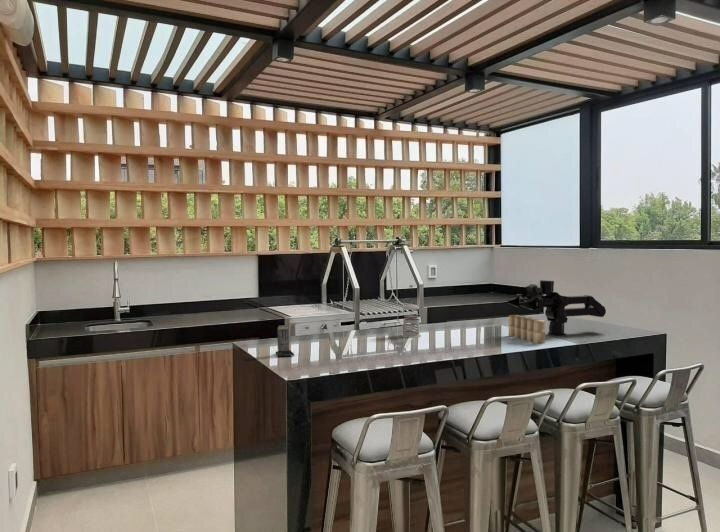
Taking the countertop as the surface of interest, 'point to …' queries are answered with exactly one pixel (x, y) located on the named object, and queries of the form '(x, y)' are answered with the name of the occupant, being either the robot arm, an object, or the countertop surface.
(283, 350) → the gray block on base
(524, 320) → the domino
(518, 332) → the domino
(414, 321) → the french press
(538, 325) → the domino
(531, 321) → the domino
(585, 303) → the robot arm
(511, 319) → the domino
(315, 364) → the countertop surface
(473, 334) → the countertop surface
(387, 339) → the countertop surface
